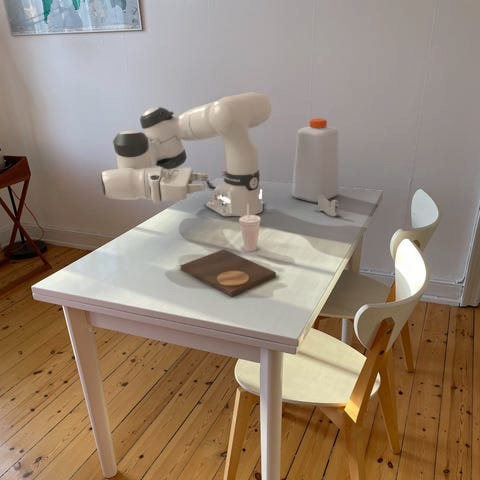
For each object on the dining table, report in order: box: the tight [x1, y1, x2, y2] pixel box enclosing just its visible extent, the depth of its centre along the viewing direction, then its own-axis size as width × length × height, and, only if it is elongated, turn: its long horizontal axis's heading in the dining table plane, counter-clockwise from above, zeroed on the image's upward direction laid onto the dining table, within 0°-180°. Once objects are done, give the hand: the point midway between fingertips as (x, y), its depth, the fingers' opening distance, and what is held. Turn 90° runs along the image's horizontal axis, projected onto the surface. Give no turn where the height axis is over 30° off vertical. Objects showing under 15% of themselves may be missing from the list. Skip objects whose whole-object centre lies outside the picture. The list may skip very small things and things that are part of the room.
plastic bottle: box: [291, 118, 339, 204], centre depth 186 cm, size 15×15×28 cm
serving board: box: [180, 248, 277, 298], centre depth 137 cm, size 22×16×2 cm
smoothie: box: [238, 204, 262, 252], centre depth 148 cm, size 6×6×14 cm
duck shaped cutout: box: [317, 195, 340, 217], centre depth 174 cm, size 6×1×10 cm
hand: (206, 182), depth 141 cm, fingers open, 8 cm apart
